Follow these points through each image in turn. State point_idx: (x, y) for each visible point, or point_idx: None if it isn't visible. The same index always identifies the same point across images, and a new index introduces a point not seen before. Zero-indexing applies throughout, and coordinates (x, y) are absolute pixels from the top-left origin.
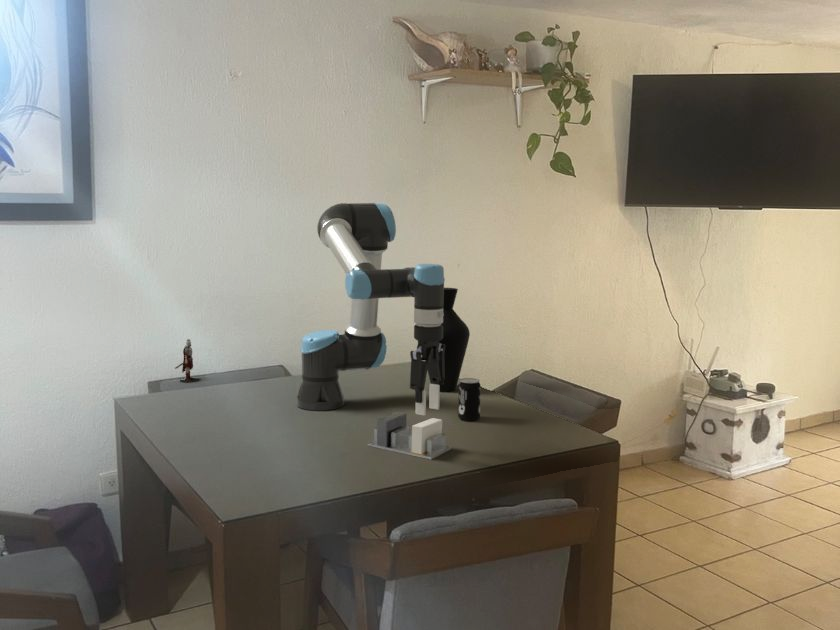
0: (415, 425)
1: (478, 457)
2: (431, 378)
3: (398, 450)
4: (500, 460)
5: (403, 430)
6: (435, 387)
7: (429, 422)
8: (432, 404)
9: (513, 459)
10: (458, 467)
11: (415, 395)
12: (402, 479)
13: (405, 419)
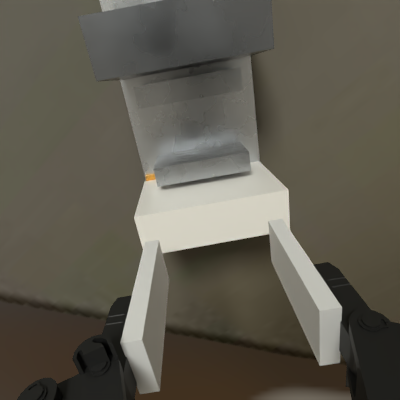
0: (145, 223)
1: (256, 293)
2: (356, 357)
3: (134, 132)
4: (270, 330)
5: (195, 98)
6: (313, 335)
7: (222, 227)
8: (274, 249)
9: (293, 341)
10: (169, 304)
11: (103, 332)
12: (11, 276)
13: (257, 52)
